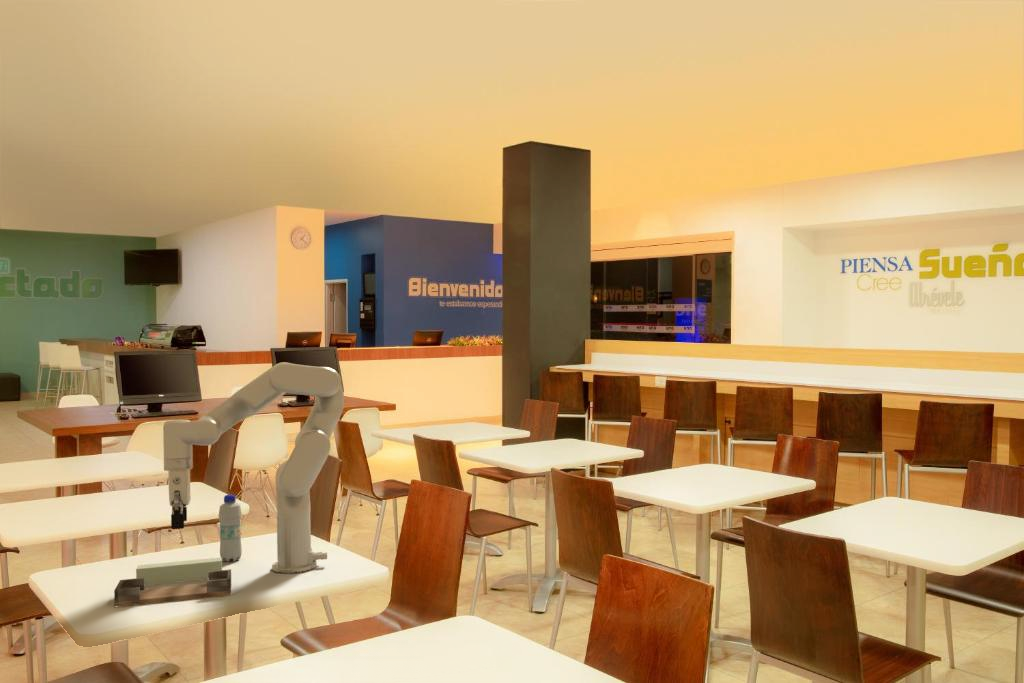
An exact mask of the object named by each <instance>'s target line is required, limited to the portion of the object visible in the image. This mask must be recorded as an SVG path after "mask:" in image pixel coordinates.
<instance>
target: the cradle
mask: <svg viewBox="0 0 1024 683" xmlns="http://www.w3.org/2000/svg"><path fill="white" fill-rule="evenodd" d="M208 578H209V579H206V582H203V583H202V582H201V583H200V582H199V583H191V584H182V585H171V586H160V587H150V588H145V586H144V578H130V579H129V578H127V579H120V580H119V581H118V583H117V585H116V587H115V589H114V590H113V591H114V592H113V593H114V599H113V600H114V607H115V606H121V607H127V606H126V605H130V606H135V605H134V604H140V605H150V604H156V603H157V604H158V603H165V602H166V603H167V602H177V601H186V600H196V599H206V598H205V597H207V598H213V597H214V596H216V597H224V596H223V595H226V596H231V595H230V594H231V593H232V569H231V568H229V569H222V570H219V571H209V572H208ZM214 598H215V597H214ZM146 603H148V604H146Z"/></svg>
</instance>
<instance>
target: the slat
mask: <svg viewBox="0 0 1024 683" xmlns="http://www.w3.org/2000/svg"><path fill="white" fill-rule="evenodd" d="M219 570H223V561H222V557H221V556H220V557H211V558H202V559H192V560H191V559H190V560H182V561H171V562H160V563H159V562H158V563H148V564H138V565H137V567H136V568H135V573H136V574H135V575H136V578H144V585H145V586H151V585H152V586H154V585H153V584H155V585H162V584H163V585H164V584H172V583H173V584H174V583H183V582H182V581H184V582H191V580H194V581H200V580H199V579H204V580H209V579H208V572H209V571H219ZM136 578H135V579H136Z"/></svg>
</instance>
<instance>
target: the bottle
mask: <svg viewBox="0 0 1024 683" xmlns="http://www.w3.org/2000/svg"><path fill="white" fill-rule="evenodd" d="M242 515H243V514H242V507H241V504H240V503H238V502H236V495H235V494H231V493H230V494H226V495H224V497H223V503H222V504H221V505H220V506H219V510H218V522H219V532H220V533H219V534H220V535H219V536H220V538H219V539H220V542H219V556H220V558H221V557H222V562H227V563H229V562H228V561H230V562H231V559H232V562H235V561H237V559H239V560H240V559H241V557H242V554H243V552H242V551H243V549H242V534H241V533H242V532H241V530H242V529H241V525H242V524H241V521H242V517H243V516H242Z"/></svg>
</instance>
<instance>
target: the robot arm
mask: <svg viewBox="0 0 1024 683" xmlns="http://www.w3.org/2000/svg"><path fill="white" fill-rule="evenodd" d="M285 394H293V395H299V396H300V395H303V396H309V397H310V396H311V397H312V396H313V397H315V398H314V404H313V406H312V408H311V411H310V412H309V414H308V416H307V418H306V420H305V422H304V424H303V425H302V427H301V429H300V430H299V432H298V433H297V435H296V436H295V439H294V448H293V449H292V451H291V454H290V455H289V457H288V459H286V460H284V461H283V462H281V464H280V465H278V467H277V469H276V471H275V477H274V478H275V481H274V482H275V493H276V495H275V496H276V497H275V498H276V544H277V546H276V550H277V551H276V552H277V553H276V554H277V555H276V556H277V557H276V558H277V561H275V562H274V563H272V565H271V569H272V571H274V572H275V571H276V572H275V573H279V572H281V573H280V574H294V573H295V572H297V573H303V572H307V570H308V571H310V570H313V569H314V568H316V567H317V560H318V561H320V560H322V561H323V560H327V559H328V553H327V552H323V551H318V552H315V551H313V549H312V545H311V544H312V542H311V541H312V537H311V536H312V535H311V534H312V533H311V528H312V527H311V491H310V490H311V488H312V486H313V485H314V483H315V482H316V479H317V478H318V475H319V474H320V473H321V470H322V468H323V466H324V464H326V461H327V459H328V456H329V454H330V451H331V446H332V445H331V440H330V439H331V437H332V435H333V433H334V431H335V428H336V427H337V425H338V423H339V422H340V421H339V420H340V418H341V416H342V414H343V411H344V408H345V407H344V406H345V395H344V394H345V393H344V388H343V386H342V378H341V375H340V374H339V372H338V371H336V370H335V369H333V368H332V367H328V366H314V365H313V366H312V365H304V364H296V363H291V362H285V361H284V362H283V361H282V362H279V363H275V364H274V365H273V366H272V367H270V368H269V369H267V370H266V371H265V372H263V373H261V374H260V375H258V376H257V377H255V379H253V380H252V381H250V382H249V383H247V384H246V385H244V386H242V387H241V388H240V389H238V390H237V391H236V392H234V393H233V394H232V395H231V396H230V397H228V398H227V399H226V400H224V401H222V402H221V403H220V404H219V405H216V407H214V408H212V409H211V410H210V411H207V413H205V414H204V415H203V416H201V417H199V418H198V419H197V420H189V419H185V418H184V419H183V418H182V419H170V420H167V421H165V422H164V424H163V429H162V430H163V431H162V432H163V435H162V436H163V437H162V438H163V444H162V445H163V471H166V472H168V473H167V474H168V499H169V502H168V503H169V506H170V507H171V515H170V525H171V526H170V527H171V528H170V529H171V530H181V529H184V528H185V522H187V519H188V517H187V516H188V513H187V512H188V511H187V510H188V509H187V506H188V505H190V502H191V478H190V476H191V475H190V470H192V469H193V468H194V463H193V461H194V460H193V458H194V457H193V453H194V452H193V450H194V449H193V445H195V446H211V445H214V444H215V443H217V442H218V440H219V439H220V437H221V435H223V434H224V433H225V432H227V431H228V430H230V429H231V428H233V427H234V426H236V425H237V424H239V423H240V422H242V421H244V420H245V419H249V418H250V417H253V416H255V415H257V414H258V413H260V412H262V411H263V410H265V408H268V406H270V405H271V404H273V403H274V402H275V401H277V400H278V399H280V398H282V397H283V396H284V395H285ZM302 571H303V572H302ZM295 574H296V573H295Z"/></svg>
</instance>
